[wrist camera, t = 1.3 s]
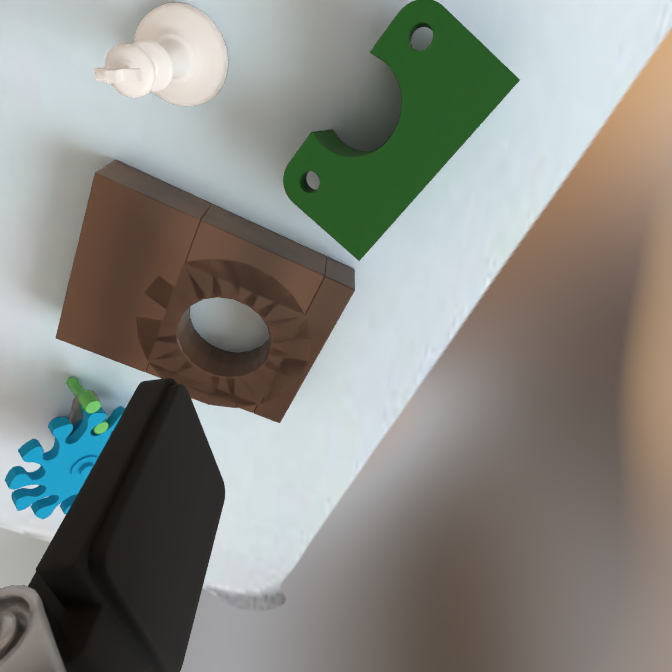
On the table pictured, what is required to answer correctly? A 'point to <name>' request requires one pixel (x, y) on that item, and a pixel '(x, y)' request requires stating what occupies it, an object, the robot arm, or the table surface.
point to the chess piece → (170, 57)
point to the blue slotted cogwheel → (63, 455)
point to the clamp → (401, 129)
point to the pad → (196, 292)
